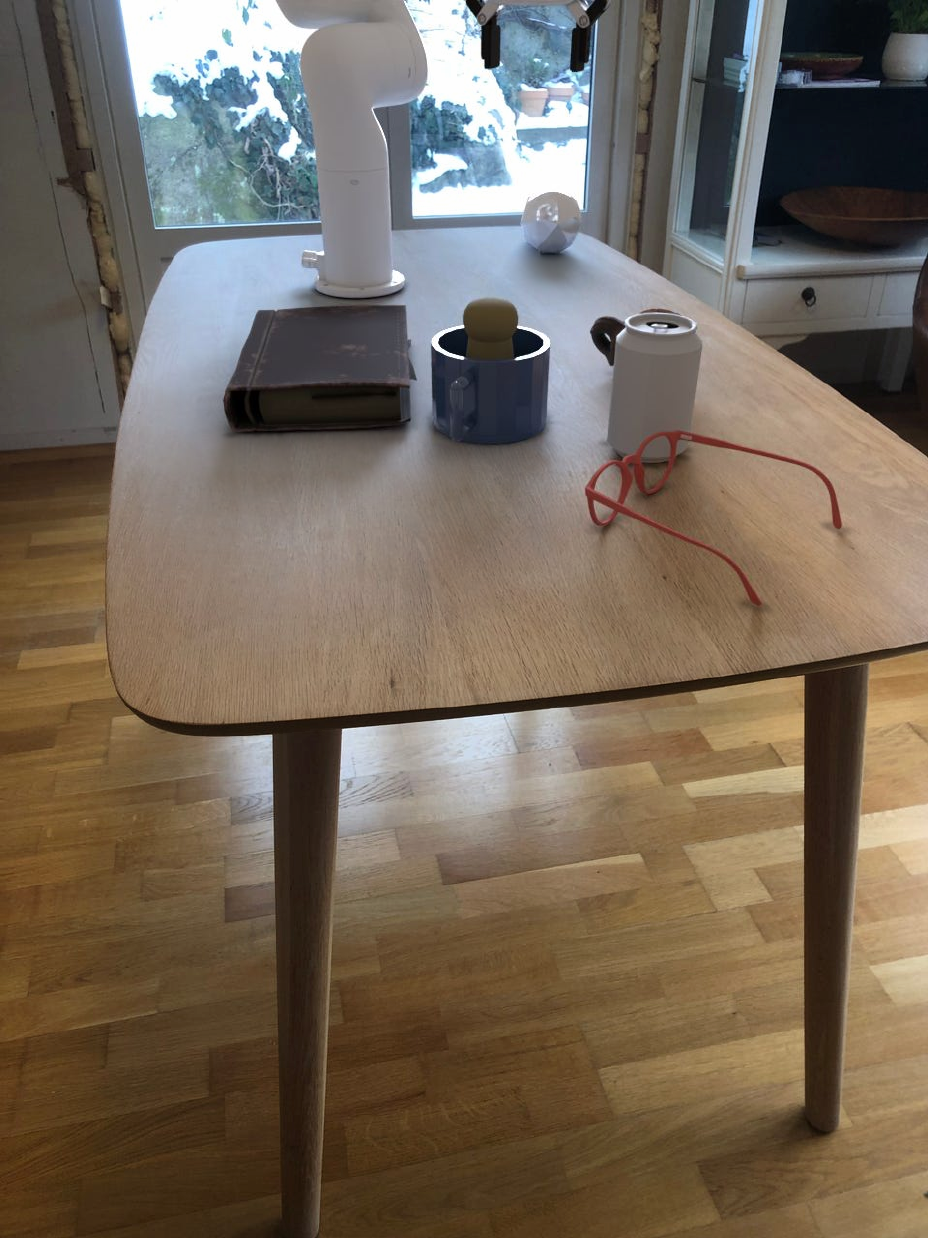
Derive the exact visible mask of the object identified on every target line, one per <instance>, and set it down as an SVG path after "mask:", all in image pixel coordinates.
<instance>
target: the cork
mask: <svg viewBox="0 0 928 1238" xmlns="http://www.w3.org/2000/svg"><path fill="white" fill-rule="evenodd" d="M518 313H519V312H518V310H517V307H516V306H515V304H514V303H513V302H511V301H510V300H509V299H505V298H501V297H479V298H476V299H473V300H471V301H470V302H469V303H467V304H466V306H465V307H464V310H463V314H462V326H464V329H465V332H466V333H467V335H468V336H469V339H468V346H467V354H466V358H472V359H482V360H501V359H513V358H514V353H513V343H512V336H513V334H514V333H515V331H516V330H517V326H519V314H518Z"/></svg>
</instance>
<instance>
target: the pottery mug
mask: <svg viewBox="0 0 928 1238" xmlns="http://www.w3.org/2000/svg"><path fill="white" fill-rule="evenodd" d="M643 313H669V314H676V315H680V316H683V315H682V314H680V313H678V312H674V311H672V310H669V309H665V308H649V309H645V310H642V311H641V312H639V313H638V314H643ZM625 328H626V326H625V321H622V320H621V319H619V318H617V317H615V316H608V315H605V316H601V317H599V318H597V319H595V321H594V323H593V325H592V326H591V328H590V329H589V334H590V336H591V340H592V343H593V345H594V346H595V348H596V349H597V350H598V351H599V352H600V353H601V354H602V355H604V357H605V358H606V360H607V363H608V365H609V366H610V367H614V357H615V345H616V337H617V335H618V334H619V333H620V332H621V331H622V330H624V329H625ZM695 332H696V333H697V330H695ZM608 337H609V338H608Z"/></svg>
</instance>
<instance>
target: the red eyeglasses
mask: <svg viewBox="0 0 928 1238" xmlns="http://www.w3.org/2000/svg"><path fill="white" fill-rule="evenodd" d="M660 436H666V437H667V438H668V440H669V442H670V448H671V452H670V459H669V461H668V464H667V467H666V470H665V472H664V474H663V476H662V478H661V479H660V481H659V482H658V483H657V485H655V486H654V487H653V488H651V489H646V487H645V475H646V473H645V472H646V470H645V468H644V466H643V462H641V455H642V452H643V450H644V448H645V447H646V445H647V444H648V443H649V442H650V441H652V440H653V439H655V438H657V437H660ZM678 440H686V441H689V442H691V443H696V444H701V445H706V446H710V447H715V448H720V449H727V450H734V451H739V452H742V453H743V452H744V453H748V454H751V455H756V456H761V457H765V458H769V459H773V460H777V461H781V462H785V463H789V464H793V465H796V466H799V467H803V468H805V469H808V470H809V471H811V472H813V473H814V474H815V475H816V476H817V477H819V478H820V480H821V481H822V483H824V485H825V487H826V489H827V491H828V494H829V499H830V506H831V516H832V517H831V518H832V526H833V527H835V529H836V530H840V529H842V527H843V523H842V518H841V511H840V508H839V507H840V506H839V503H838V498H837V493H836V490H835V488H834V486H833V483H832V482H831V481H830V479H829V478H828V477H827V476H826V475H825V473H823V472H822V471H821V470H820V469H818V468H817V467H815V466H813V465H811V464H810V463H808V462H805V461H802V460H799V459H795V458H791V457H788V456H785V455H781V454H777V453H773V452H770V451H765V450H761V449H756V448H753V447H748V446H744V445H741V444H738V443H737V444H736V443H733V442H730V441H726V440H723V439H720V438H716V437H710V436H706V435H702V434H697V433H692V432H690V433H689V432H684V431H679V430H677V431H672V432H659V433H656V434H653V435H651V436H650V437H648V438H647V439H645V440H644V441H643V443H642V444H641V445H640V447H639V448H638V450H637V452H636V454H632V455H627V456H625V457H622V460H621V461H620V460H614V459H613V460H609V461H607V462H604V464H602V465H601V466H600V467H598V469H597V470H596V471H595V472H594V474H592V476H591V478H590V479H589V481H588V482H587V484H586V485H585V486H584V493H585V494H584V495H585V496H586V500H587V506H588V507H587V508H588V512H589V516H590V519H591V521H592V522H593V523H594V524H595V525H596V526H599V527H606V526H608V525H609V524H610V523H611V522H613V521H614V519H615V518H617V515H618V514H619V513H620V514H621V515H623V516H626V517H630V518H632V519H634V520H637V521H639V522H641V523H643V524H646V525H647V526H650V527H652V528H654V529H656V530H659V531H661V532H663V533H664V534H667V535H670V536H672V537H675V538H676V539H679V540H681V541H684V542H686V543H688V544H691V545H694V546H697V547H699V548H701V549H704V550H706V551H708V552H710V553H712V554H714V555H716V556H718V557H719V558H720V559H722V560H723V561H724V562H726V563H727V564H728V565H729V566H730V567H731V568H732V569H733V570H734V572H735V573H736V574H737V576H738V577H739V580H740V581H741V583H742V585H743V588H744V590H745V592H746V594H747V596H748V598H749V600H750V602H751V603H752V604H753V605H755V606H758V607H761V606H762V604H763V602H762V601H761V598H760V597H759V596H758V594H757V593H756V591H755V589H754V587H753V586H752V584H751V583H750V581H749V579H748V578H747V576H746V574H745V573H744V571H743V570H742V569H741V568H740V567H739V566H738V564H737V563H736V562H734V561H733V560H732V559H731V558H729V557H728V556H727V555H725V554H724V553H722V552H721V551H719V550H717V549H716V548H714V547H712V546H710V545H708V544H706V543H704V542H701V541H699V540H697V539H695V538H692V537H690V536H689V535H685V534H684V533H681V532H679V531H676V530H674V529H672V528H670V527H668V526H667V525H664V524H663V523H662V524H661V523H660V522H657V521H656V520H653V519H651V518H649V517H647V516H644V515H643V514H640V513H638V512H636V511H635V510H633V509H631V508H630V507H628V506H626V505H624V503H625V502H626V499H627V497H628V494H629V492H630V489H631V487H632V484H633V480H634V481H635V484H636V486H637V488H638V490H639V491H640V492H641V493H643V494H648V495H652V494H654V493H656V492H657V491H659V490H660V489H661V488H662V487H663V486H664V484H666V481H667V480H668V478H669V477H670V474H671V472H672V470H673V468H674V464H675V459H676V457H675V454H676V447H677V441H678ZM630 464H633V467H632V470H633V472H632V470H631V469H630V468H629V465H630ZM614 465H615V466H617V468H618V469H619V472H620V477H621V487H620V491H619V496H618V500H617V501H616V500H615V499H613V498H611V497H609V496H608V495H605V494H604V493H601V492H599V491H597V490H595V489H596V484H597V482H598V479H599V477H600V476H601V475H602V473H603V472H604V471H605V470H606V469H608V468H609V467H611V466H614ZM594 501H596V502H597V503H599V504H602V505H603V506H605V507H607V508H609V509H611V510H613V511H612V512H611V514H610V515H609V517H607V518H606V519H605V520H604V521H600V520H599V518H598V517H597V514H596V509H595V503H594Z"/></svg>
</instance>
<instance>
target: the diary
mask: <svg viewBox="0 0 928 1238" xmlns="http://www.w3.org/2000/svg"><path fill="white" fill-rule="evenodd" d="M255 313H256V314H255V316H254V319H253V321H252V325H251V328H250V331H249V334H248V335H247V338H246V340H245V342H244V344H243V346H242V348H241V352H240V354H239V356H238V359H237V360H238V361H237V364H236V366H235V370H234V372H233V373H232V376H231V377H230V380H229V382H228V383H227V386H226V388H225V390H224V395H223V399H222V404H223V409H224V415H225V417H226V419H227V420H226V421H227V422H228V425H229V427H230V429H231V430H232V431H233V432H235V433H238V432H255V431H257V432H268V431H269V432H270V431H271V432H272V431H273V432H275V431H276V432H277V431H306V430H307V431H308V430H310V431H311V430H313V431H315V430H343V429H344V430H345V429H347V430H349V429H351V430H353V429H369V428H370V429H371V428H379V427H380V428H381V427H391V426H392V427H393V426H403V425H404V424H407V423H409V422H411V421H412V412H411V411H412V410H411V409H412V408H411V389H410V388H411V380H412V381H416V382H417V381H418V379H417V376H416V372H415V368H414V365H413V363H412V361H411V359H410V356H409V349H410V348H411V345H412V339H408V320H407V319H408V318H407V317H408V316H407V305H406V304H377V305H376V304H373V305H371V304H370V305H369V304H366V305H365V304H361V305H359V304H358V305H323V306H322V305H321V306H309V307H297V308H296V307H295V308H282V309H277V310H275V309H258V310H257V311H256V312H255Z"/></svg>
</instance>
